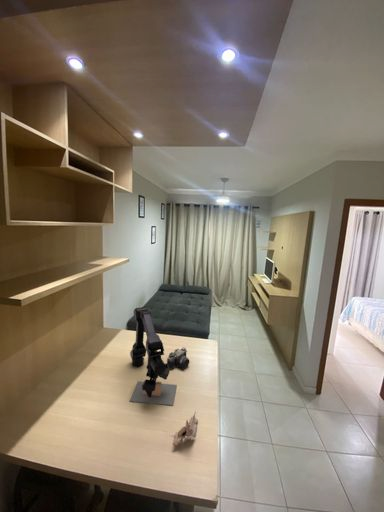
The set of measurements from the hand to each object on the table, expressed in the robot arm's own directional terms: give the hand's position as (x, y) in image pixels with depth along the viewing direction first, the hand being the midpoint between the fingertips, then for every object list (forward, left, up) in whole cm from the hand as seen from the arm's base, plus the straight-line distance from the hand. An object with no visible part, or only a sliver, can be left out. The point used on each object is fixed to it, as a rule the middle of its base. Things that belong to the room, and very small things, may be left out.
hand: (152, 390), depth 114 cm
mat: (+1, +1, -2) cm, 3 cm away
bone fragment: (+18, -20, -4) cm, 27 cm away
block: (0, 0, -2) cm, 2 cm away
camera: (+12, +26, -3) cm, 29 cm away
